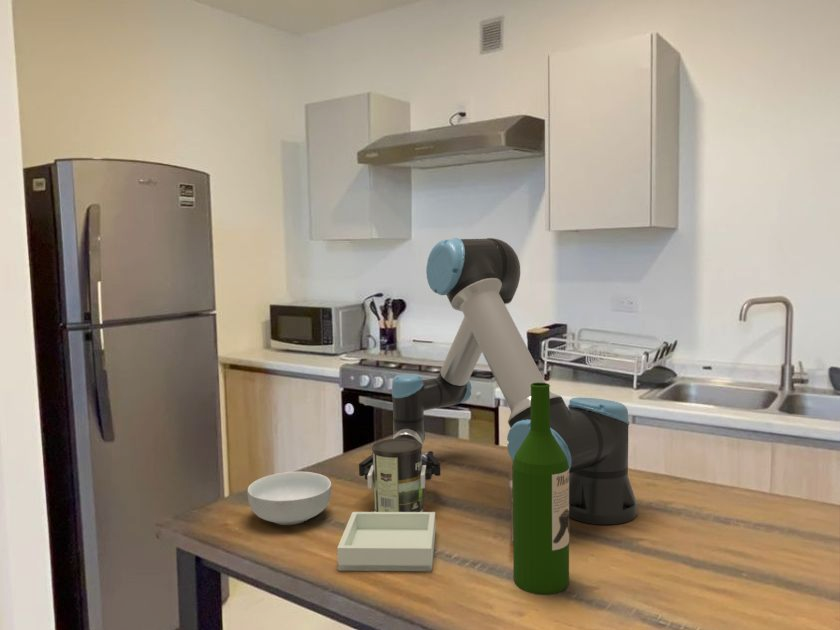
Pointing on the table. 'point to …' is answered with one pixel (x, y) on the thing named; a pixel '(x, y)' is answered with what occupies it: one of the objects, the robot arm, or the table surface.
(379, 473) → the coffee can
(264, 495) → the cereal bowl
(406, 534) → the tray
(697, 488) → the table surface
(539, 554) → the wine bottle
